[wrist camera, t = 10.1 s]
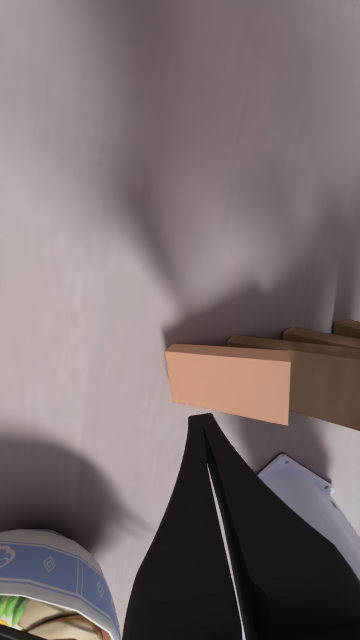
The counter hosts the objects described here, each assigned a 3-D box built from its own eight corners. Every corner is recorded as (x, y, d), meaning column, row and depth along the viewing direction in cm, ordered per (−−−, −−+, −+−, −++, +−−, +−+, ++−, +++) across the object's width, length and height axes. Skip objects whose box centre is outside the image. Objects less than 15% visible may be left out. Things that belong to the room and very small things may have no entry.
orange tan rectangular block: (173, 343, 17) (288, 350, 13) (180, 390, 19) (286, 409, 15) (164, 351, 16) (290, 362, 12) (172, 402, 17) (288, 425, 13)
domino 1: (292, 326, 17) (469, 358, 10) (290, 375, 19) (445, 432, 12) (283, 332, 17) (470, 371, 9) (281, 382, 18) (443, 449, 11)
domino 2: (233, 334, 17) (373, 350, 12) (235, 382, 19) (362, 415, 13) (226, 341, 16) (378, 362, 11) (229, 392, 17) (365, 432, 12)
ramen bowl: (-114, 548, 22) (-269, 704, 14) (11, 437, 19) (-99, 560, 11) (61, 620, 28) (20, 757, 20) (178, 546, 25) (183, 674, 17)
